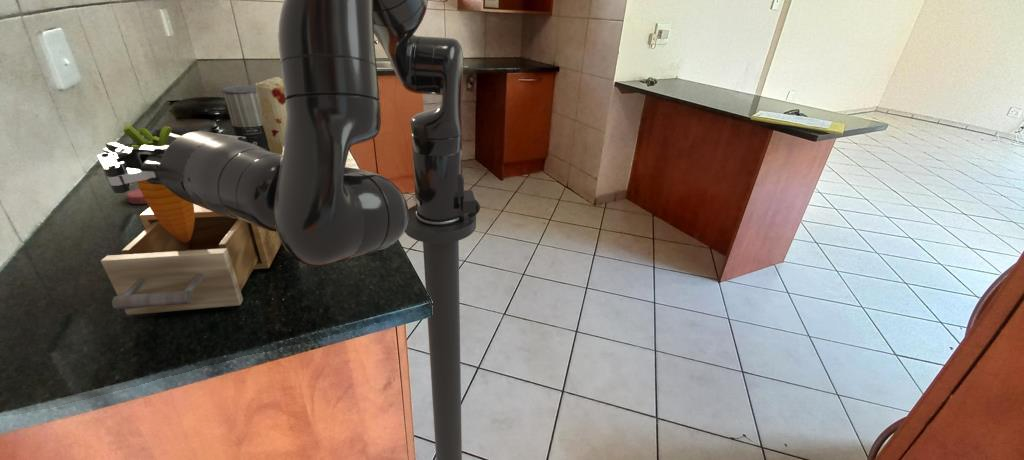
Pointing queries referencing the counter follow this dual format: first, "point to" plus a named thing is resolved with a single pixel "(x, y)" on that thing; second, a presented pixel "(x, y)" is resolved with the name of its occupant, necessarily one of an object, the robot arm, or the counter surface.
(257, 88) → the food model
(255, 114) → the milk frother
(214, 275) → the drawer
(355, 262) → the counter surface
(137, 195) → the popsicle
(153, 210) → the carrot
